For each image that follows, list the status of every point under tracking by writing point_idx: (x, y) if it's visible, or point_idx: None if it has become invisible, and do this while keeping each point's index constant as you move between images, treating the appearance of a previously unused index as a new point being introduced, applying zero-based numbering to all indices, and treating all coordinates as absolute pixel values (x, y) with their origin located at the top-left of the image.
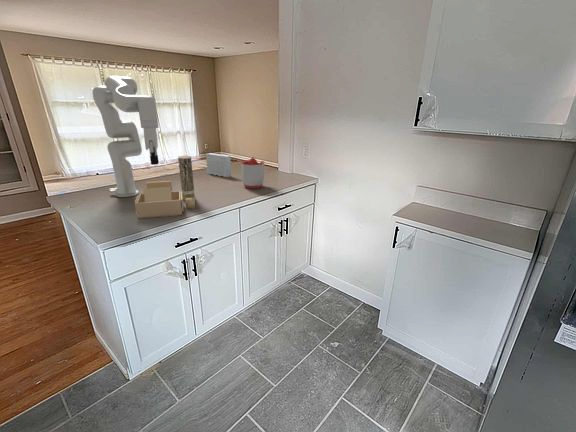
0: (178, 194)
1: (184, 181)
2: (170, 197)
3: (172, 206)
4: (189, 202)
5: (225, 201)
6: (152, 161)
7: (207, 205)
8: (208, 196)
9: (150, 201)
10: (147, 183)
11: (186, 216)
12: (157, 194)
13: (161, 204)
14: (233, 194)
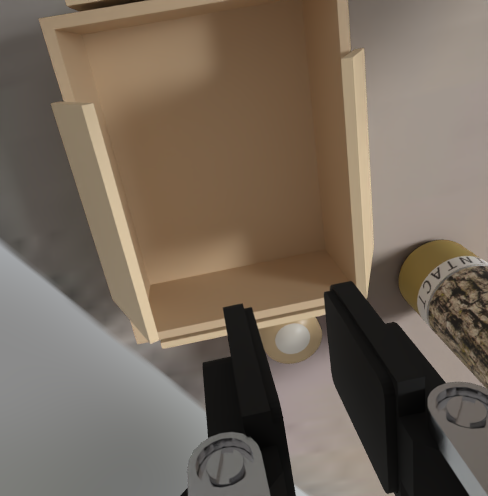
0: (348, 273)
1: (475, 340)
2: (117, 300)
3: None
4: (260, 332)
5: (349, 454)
6: (204, 374)
7: (297, 385)
8: (458, 366)
9: (65, 149)
10: (343, 73)
11: (121, 316)
12: (97, 219)
13: None
14: None
